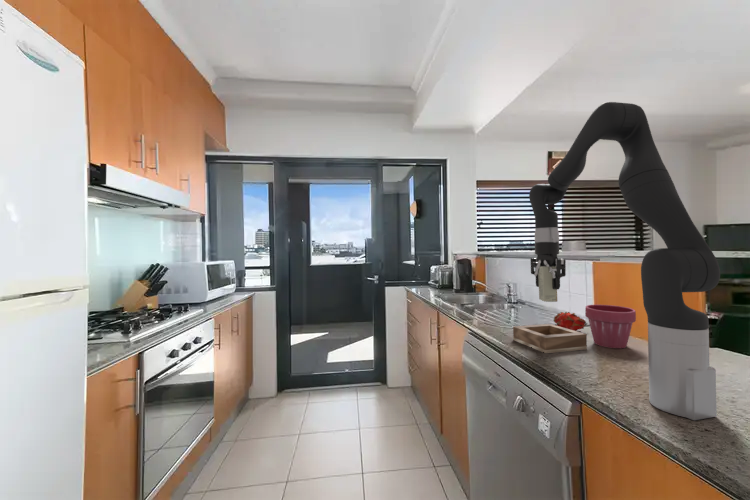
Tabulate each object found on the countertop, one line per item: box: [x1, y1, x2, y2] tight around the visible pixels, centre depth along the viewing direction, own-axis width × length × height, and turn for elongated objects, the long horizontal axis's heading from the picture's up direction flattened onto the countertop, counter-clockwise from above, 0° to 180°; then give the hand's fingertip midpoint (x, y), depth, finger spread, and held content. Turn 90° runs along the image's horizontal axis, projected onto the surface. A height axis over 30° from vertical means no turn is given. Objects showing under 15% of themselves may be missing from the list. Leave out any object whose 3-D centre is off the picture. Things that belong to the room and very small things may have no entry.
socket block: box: [512, 323, 588, 354], centre depth 112 cm, size 16×16×5 cm
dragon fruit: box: [553, 311, 588, 333], centre depth 129 cm, size 8×8×12 cm
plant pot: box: [584, 304, 637, 349], centre depth 111 cm, size 14×14×13 cm
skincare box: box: [538, 266, 558, 303], centre depth 112 cm, size 6×4×12 cm
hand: (547, 287), depth 112 cm, fingers closed on skincare box, 7 cm apart
